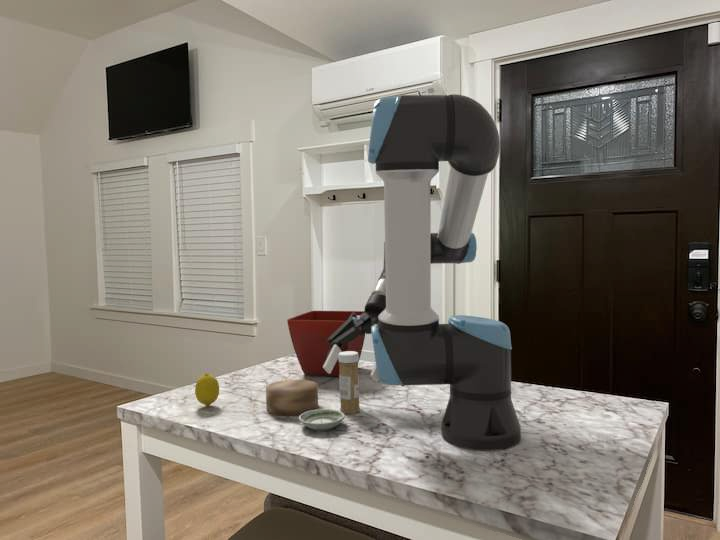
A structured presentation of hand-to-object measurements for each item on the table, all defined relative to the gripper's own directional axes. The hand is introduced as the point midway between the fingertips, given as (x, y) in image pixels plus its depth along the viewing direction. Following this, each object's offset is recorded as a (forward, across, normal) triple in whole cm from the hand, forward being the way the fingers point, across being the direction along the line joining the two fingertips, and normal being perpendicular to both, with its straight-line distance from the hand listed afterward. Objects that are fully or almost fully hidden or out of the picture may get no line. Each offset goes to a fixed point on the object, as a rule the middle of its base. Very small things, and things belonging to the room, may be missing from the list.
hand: (349, 374), depth 122 cm
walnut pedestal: (+10, +12, -1) cm, 16 cm away
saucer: (+14, -2, +2) cm, 15 cm away
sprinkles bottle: (+7, -1, -5) cm, 8 cm away
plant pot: (-12, +27, -24) cm, 38 cm away
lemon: (+17, +30, +6) cm, 35 cm away
